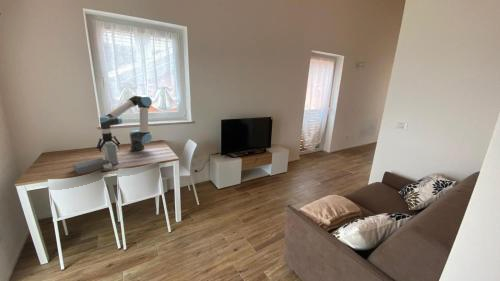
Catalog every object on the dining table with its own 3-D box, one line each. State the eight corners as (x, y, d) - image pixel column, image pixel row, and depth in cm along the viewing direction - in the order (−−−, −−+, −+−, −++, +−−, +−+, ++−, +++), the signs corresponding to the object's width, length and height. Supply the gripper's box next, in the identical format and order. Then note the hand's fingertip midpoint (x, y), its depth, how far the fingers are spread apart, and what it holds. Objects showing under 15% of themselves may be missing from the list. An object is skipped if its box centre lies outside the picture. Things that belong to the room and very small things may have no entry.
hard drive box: (118, 163, 209) (115, 144, 203) (109, 165, 203) (106, 146, 197) (113, 159, 218) (110, 141, 213) (104, 161, 213) (101, 142, 207)
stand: (100, 162, 209) (99, 157, 207) (107, 166, 201) (106, 160, 200) (73, 170, 191) (72, 164, 190) (79, 174, 184) (78, 168, 182)
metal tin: (110, 167, 201) (109, 162, 199) (113, 168, 197) (113, 164, 196) (102, 169, 195) (101, 164, 194) (105, 171, 192) (104, 166, 190)
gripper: (118, 129, 214) (121, 149, 220) (89, 134, 194) (93, 155, 200) (122, 130, 210) (124, 150, 216) (93, 135, 190) (97, 157, 196)
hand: (109, 153), depth 208 cm, fingers open, 13 cm apart
